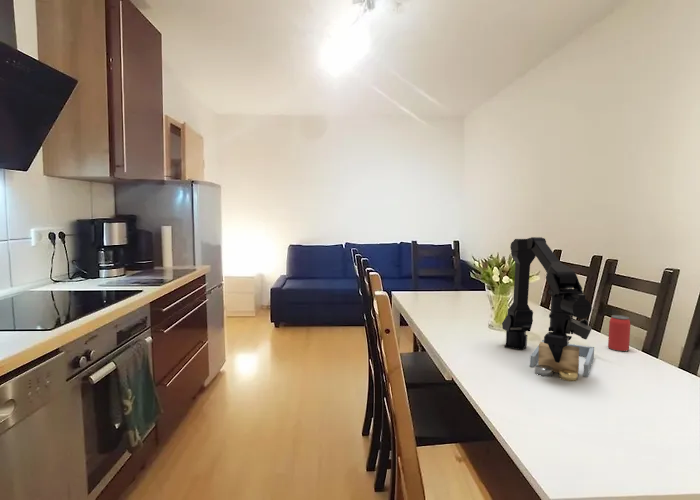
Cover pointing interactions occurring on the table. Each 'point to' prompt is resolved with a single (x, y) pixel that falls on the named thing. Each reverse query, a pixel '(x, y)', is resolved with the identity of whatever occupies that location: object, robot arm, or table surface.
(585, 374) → the cubby
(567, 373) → the brass token
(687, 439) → the table surface
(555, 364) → the wooden plank block
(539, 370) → the gunmetal token
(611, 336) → the beer can
